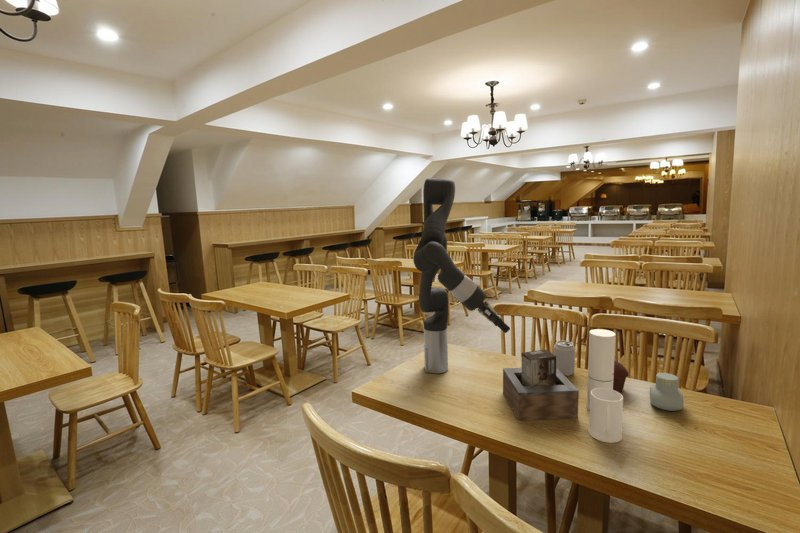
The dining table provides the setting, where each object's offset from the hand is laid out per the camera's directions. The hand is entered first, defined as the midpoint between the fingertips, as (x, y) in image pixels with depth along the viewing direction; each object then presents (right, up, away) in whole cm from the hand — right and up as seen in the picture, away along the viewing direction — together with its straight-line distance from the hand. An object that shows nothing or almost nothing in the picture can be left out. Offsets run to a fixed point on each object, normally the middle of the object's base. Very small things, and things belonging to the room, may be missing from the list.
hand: (503, 326), depth 126 cm
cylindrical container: (+30, -26, 0) cm, 40 cm away
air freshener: (+51, -26, 0) cm, 57 cm away
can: (+30, -22, +27) cm, 46 cm away
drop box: (+12, -26, +4) cm, 29 cm away
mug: (+24, -29, -15) cm, 40 cm away
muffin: (+40, -24, +13) cm, 48 cm away
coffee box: (+12, -25, +5) cm, 28 cm away
